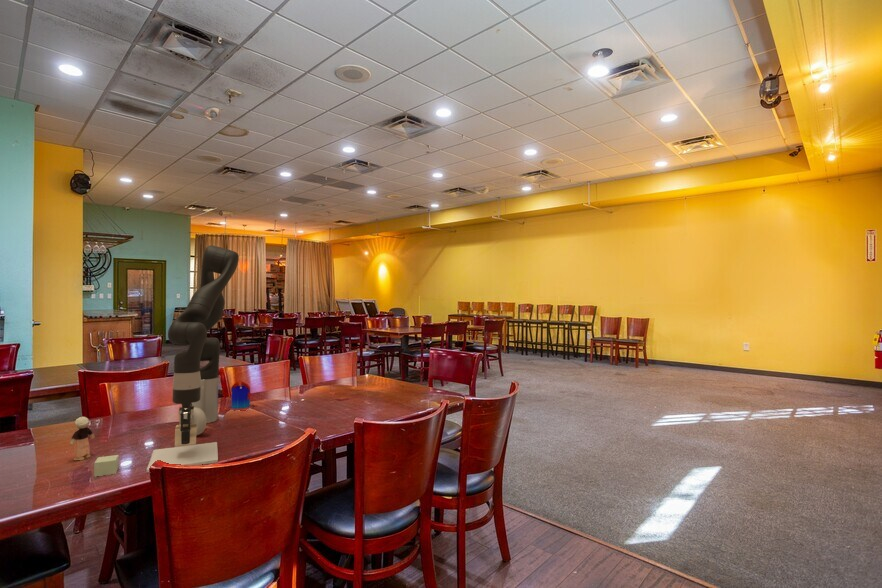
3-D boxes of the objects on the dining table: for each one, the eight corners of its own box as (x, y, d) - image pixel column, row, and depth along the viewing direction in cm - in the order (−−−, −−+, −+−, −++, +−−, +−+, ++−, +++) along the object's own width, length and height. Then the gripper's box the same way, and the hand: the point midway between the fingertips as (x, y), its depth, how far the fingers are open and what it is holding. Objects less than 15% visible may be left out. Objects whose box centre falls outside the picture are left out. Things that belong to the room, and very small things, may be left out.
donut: (208, 436, 157) (209, 408, 157) (199, 438, 154) (200, 410, 154) (189, 432, 161) (190, 404, 161) (180, 434, 158) (181, 407, 158)
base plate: (153, 452, 140) (153, 449, 140) (217, 444, 149) (217, 441, 149) (146, 472, 124) (146, 469, 124) (217, 462, 133) (217, 459, 133)
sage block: (97, 471, 125) (97, 457, 125) (118, 468, 127) (118, 454, 127) (94, 477, 121) (94, 463, 121) (115, 474, 123) (115, 460, 123)
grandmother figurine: (83, 454, 138) (84, 413, 138) (96, 454, 138) (97, 413, 138) (64, 463, 130) (65, 420, 130) (78, 463, 130) (79, 420, 130)
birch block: (175, 441, 138) (176, 425, 138) (196, 438, 140) (196, 423, 140) (174, 446, 133) (175, 430, 133) (195, 443, 135) (196, 427, 135)
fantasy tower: (219, 410, 192) (220, 383, 192) (236, 404, 203) (237, 378, 203) (244, 412, 190) (245, 384, 190) (260, 405, 201) (260, 379, 202)
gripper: (200, 389, 132) (199, 445, 132) (200, 381, 145) (200, 432, 145) (171, 391, 129) (170, 449, 128) (174, 383, 141) (173, 435, 141)
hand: (185, 440), depth 136 cm, fingers closed on birch block, 5 cm apart
